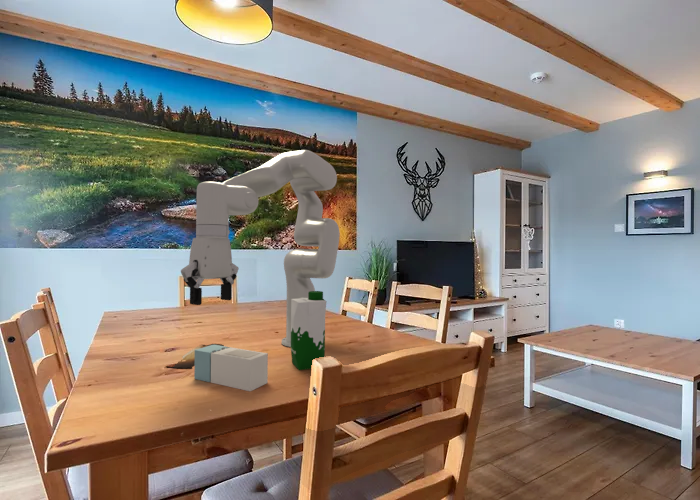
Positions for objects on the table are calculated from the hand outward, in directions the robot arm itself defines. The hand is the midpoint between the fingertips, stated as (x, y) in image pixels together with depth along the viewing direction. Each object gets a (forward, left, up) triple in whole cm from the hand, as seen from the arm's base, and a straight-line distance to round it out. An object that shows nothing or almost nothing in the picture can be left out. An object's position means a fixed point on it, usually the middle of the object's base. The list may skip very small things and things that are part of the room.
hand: (211, 302), depth 93 cm
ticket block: (0, +9, -18) cm, 20 cm away
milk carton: (-19, +16, -19) cm, 31 cm away
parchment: (-12, -17, -19) cm, 28 cm away
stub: (0, 0, -18) cm, 18 cm away
